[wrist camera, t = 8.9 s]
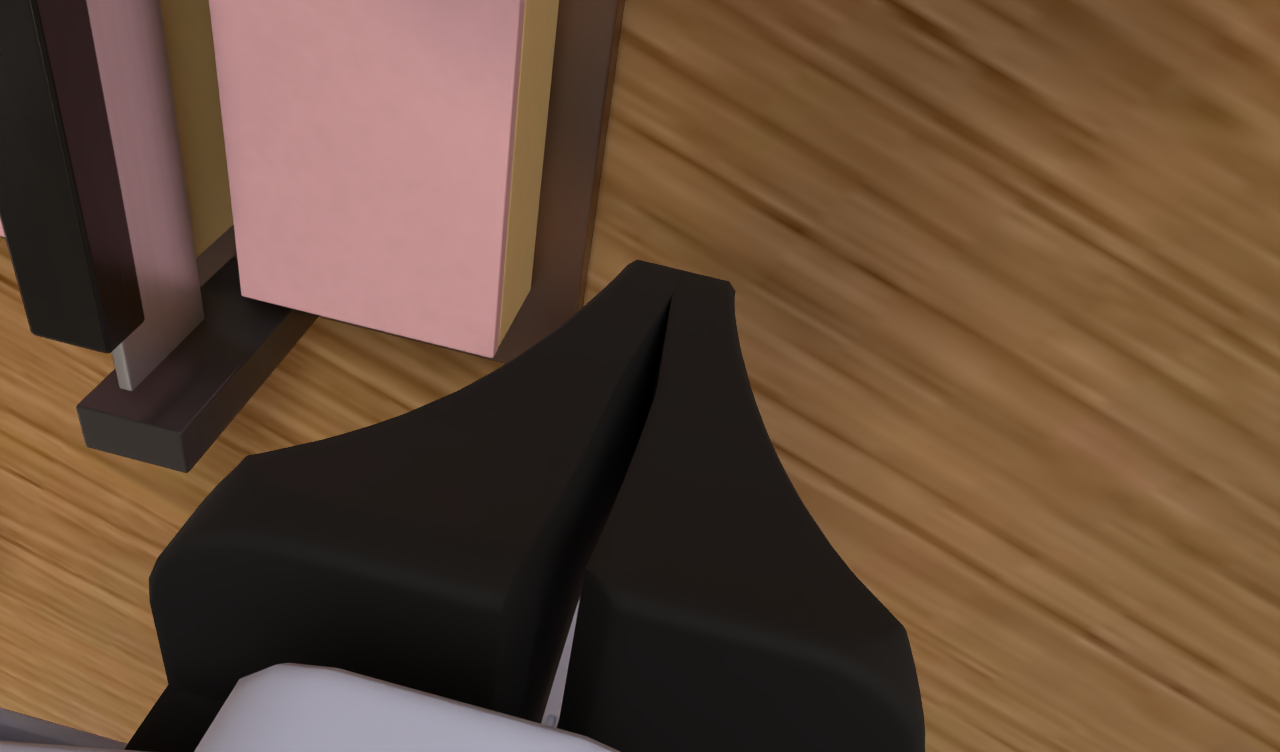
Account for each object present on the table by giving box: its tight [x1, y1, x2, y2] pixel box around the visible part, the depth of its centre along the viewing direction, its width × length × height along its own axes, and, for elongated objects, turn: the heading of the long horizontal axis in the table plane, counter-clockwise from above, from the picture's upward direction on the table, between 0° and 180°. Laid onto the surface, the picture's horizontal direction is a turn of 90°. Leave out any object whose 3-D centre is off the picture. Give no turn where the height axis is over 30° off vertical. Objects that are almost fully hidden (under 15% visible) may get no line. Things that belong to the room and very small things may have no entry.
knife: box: [0, 0, 204, 391], centre depth 17 cm, size 14×2×4 cm, turn 172°
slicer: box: [1, 0, 625, 473], centre depth 20 cm, size 18×16×7 cm
